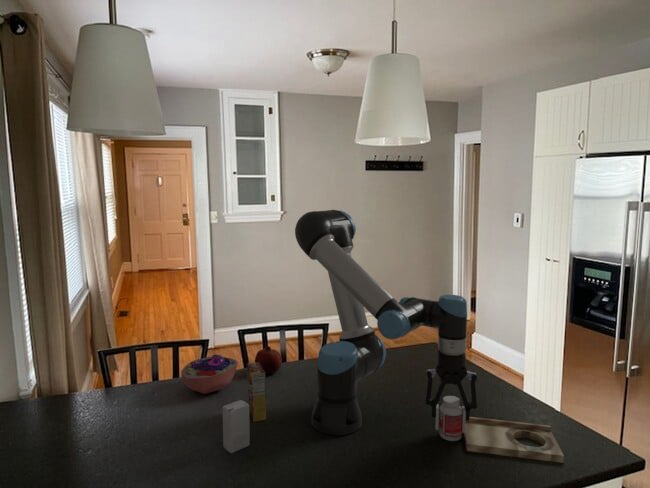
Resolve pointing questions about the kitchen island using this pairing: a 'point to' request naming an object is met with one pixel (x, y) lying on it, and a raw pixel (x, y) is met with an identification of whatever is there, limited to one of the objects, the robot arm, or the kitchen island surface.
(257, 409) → the candy box
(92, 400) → the kitchen island surface
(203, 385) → the cell model
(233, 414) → the skincare box
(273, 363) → the fruit
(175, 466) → the kitchen island surface
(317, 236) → the robot arm
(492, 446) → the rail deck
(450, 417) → the pill bottle
